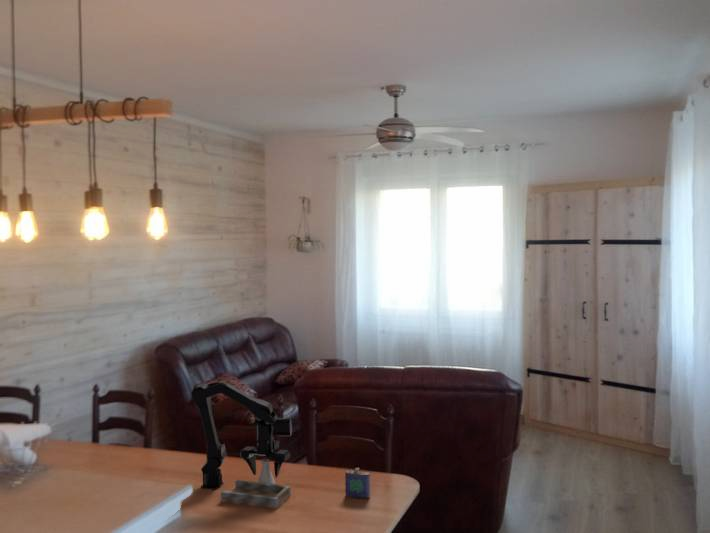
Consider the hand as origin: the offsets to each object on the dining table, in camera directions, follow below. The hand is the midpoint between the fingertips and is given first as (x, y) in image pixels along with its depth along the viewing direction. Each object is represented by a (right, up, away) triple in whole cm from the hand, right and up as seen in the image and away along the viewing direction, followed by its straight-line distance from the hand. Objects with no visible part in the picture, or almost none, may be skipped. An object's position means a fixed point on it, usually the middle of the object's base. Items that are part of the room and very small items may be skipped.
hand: (265, 475), depth 243 cm
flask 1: (0, -4, 0) cm, 4 cm away
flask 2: (+35, -4, -11) cm, 37 cm away
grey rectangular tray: (-2, -4, -12) cm, 13 cm away
